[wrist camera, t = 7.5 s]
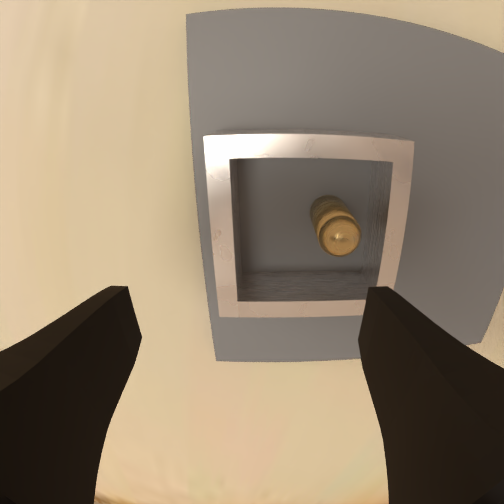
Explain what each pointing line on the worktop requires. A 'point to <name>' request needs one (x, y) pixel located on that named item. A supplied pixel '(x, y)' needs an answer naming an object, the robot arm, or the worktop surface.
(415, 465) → the robot arm
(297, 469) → the worktop surface
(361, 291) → the square storage bin
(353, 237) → the post
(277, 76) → the board
